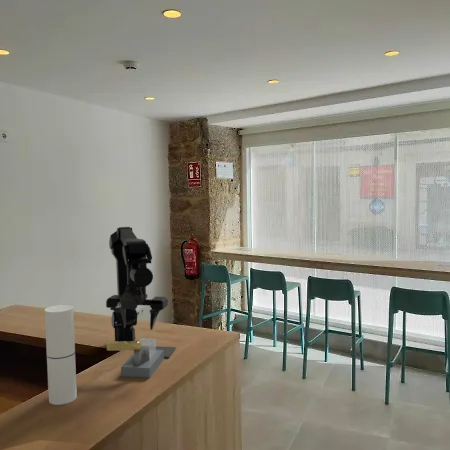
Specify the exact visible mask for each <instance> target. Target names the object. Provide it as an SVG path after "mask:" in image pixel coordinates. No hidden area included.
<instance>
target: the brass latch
mask: <svg viewBox="0 0 450 450" xmlns="http://www.w3.org/2000/svg"><path fill="white" fill-rule="evenodd" d="M139 350H141V341H139V340H134V341H115V340H112V341H111V340H110V341H107V342H106V351H133V352H134V351H139Z"/></svg>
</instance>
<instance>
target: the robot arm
mask: <svg viewBox="0 0 450 450" xmlns="http://www.w3.org/2000/svg"><path fill="white" fill-rule="evenodd" d="M108 243H109V244H108V245H109V249H110V251H111V254H112V256H113V257H114V259H115V262H116V263H115V264H116V265H115V266H116V285H117V286H116V288H117V289H116V290H117V294H113V295H112V296H109V297H108V298H107V299H106V301H105V307H106V308H108V309H109V308H110V311H112V314H111V318H110V319H111V320H110V321H111V326H112V328H113V329H114V341H136V328H135V327H134V326H137V324H138V315H139V313H138V311H137V308H138V306H149V307H150V308H151V309H149V313H150V321H149V322H150V323H149V327H150V328H149V329H150V330H153V329H154V327H155V323H156V321H157V317H158V315H159V313H160V312H161V311H162V310H164V309H165V308H166V307H168V305H169V300H168V298H167V297H166V296H154V297H153V298H152V299H150V298H149V299H147V298H148V293H147V287H148V286H150V285H151V283H152V282H153V280H154V275H153V271H152V270H151V269H149V268H148V267H147V266H148V265H147V264H152V260H153V256H152V255H153V254H152V252H151V248H150V246H149V244H148V243H147V241H146V240H145V239H143V238H142V239H141V238H138V237H137V235H135V233H134V232H133V228H132V227H130V226H120V227H117V228H116V231H114V232H113V233H112V234H110V236H109V241H108Z"/></svg>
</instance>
